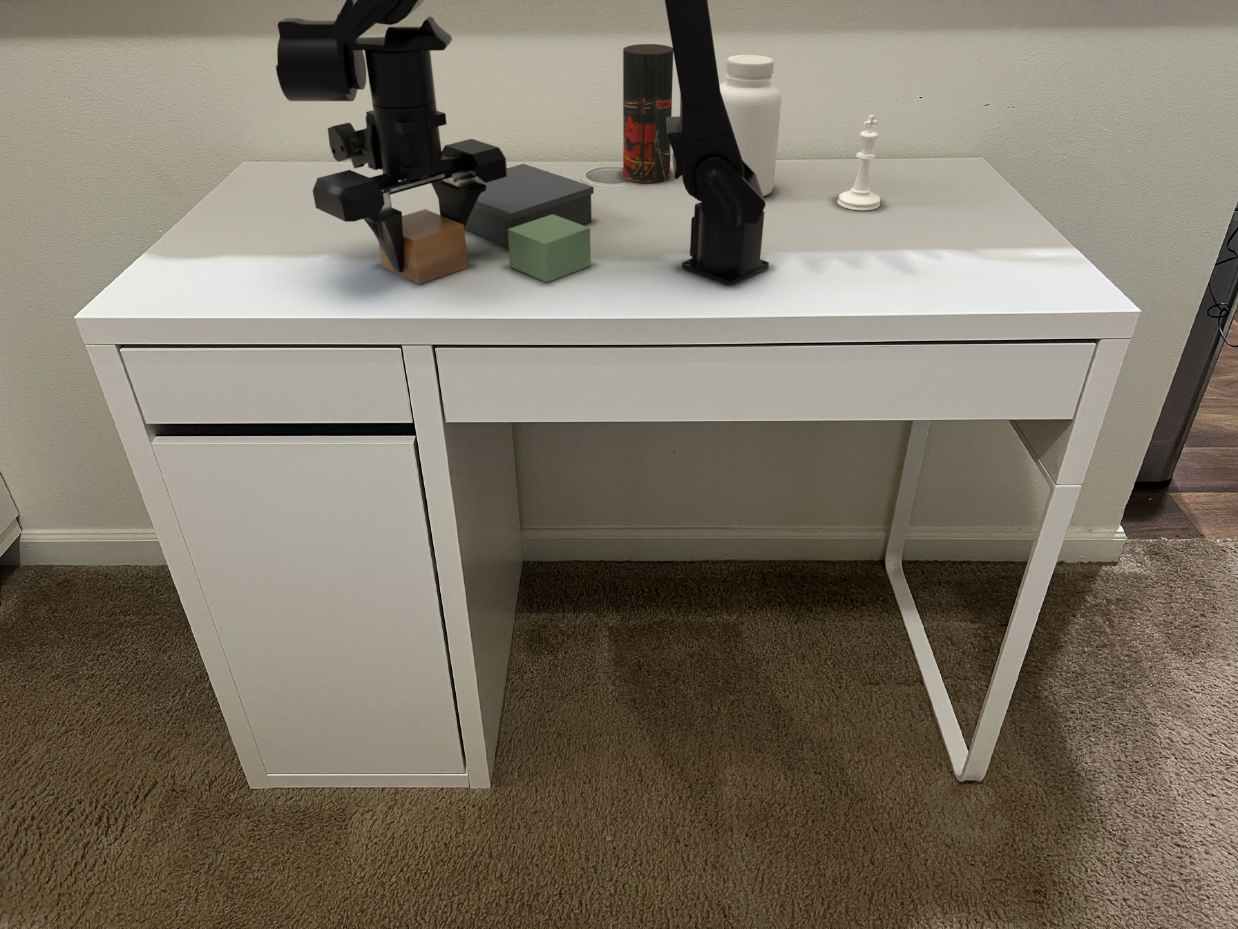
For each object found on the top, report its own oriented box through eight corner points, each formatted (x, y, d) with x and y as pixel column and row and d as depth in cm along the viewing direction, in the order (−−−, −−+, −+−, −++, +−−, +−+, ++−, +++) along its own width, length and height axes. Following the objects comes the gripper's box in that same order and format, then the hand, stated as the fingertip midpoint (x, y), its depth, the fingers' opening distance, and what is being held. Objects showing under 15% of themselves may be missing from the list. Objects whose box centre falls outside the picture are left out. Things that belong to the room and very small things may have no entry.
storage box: (594, 221, 104) (593, 186, 101) (512, 250, 97) (509, 213, 94) (525, 196, 111) (523, 163, 108) (444, 222, 104) (440, 187, 101)
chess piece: (888, 207, 107) (903, 118, 102) (852, 213, 106) (865, 123, 100) (864, 194, 111) (877, 108, 105) (829, 199, 110) (840, 112, 104)
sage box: (591, 265, 93) (590, 227, 91) (546, 283, 90) (544, 243, 88) (554, 251, 97) (552, 213, 94) (510, 267, 93) (507, 229, 91)
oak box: (468, 267, 93) (464, 224, 91) (419, 285, 90) (413, 240, 87) (430, 250, 97) (425, 208, 94) (382, 266, 93) (375, 223, 91)
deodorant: (617, 171, 119) (616, 45, 110) (660, 166, 120) (663, 42, 112) (631, 185, 114) (632, 55, 105) (676, 180, 116) (680, 52, 107)
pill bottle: (771, 180, 115) (783, 52, 107) (774, 202, 109) (787, 67, 100) (708, 178, 116) (715, 50, 107) (707, 200, 110) (714, 65, 101)
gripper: (435, 71, 94) (451, 219, 103) (266, 104, 83) (301, 266, 92) (504, 89, 88) (515, 245, 97) (331, 127, 77) (362, 299, 86)
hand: (425, 262), depth 93 cm, fingers closed on oak box, 6 cm apart
